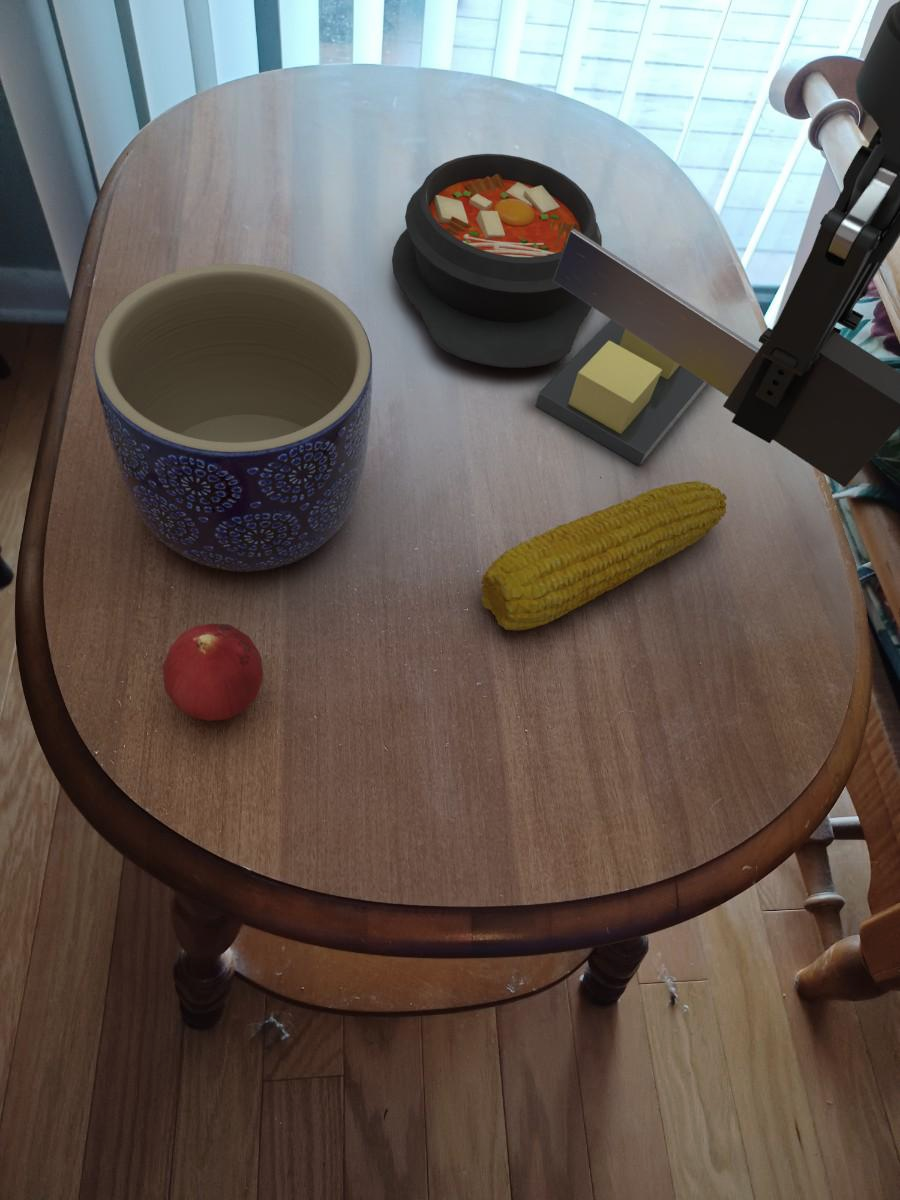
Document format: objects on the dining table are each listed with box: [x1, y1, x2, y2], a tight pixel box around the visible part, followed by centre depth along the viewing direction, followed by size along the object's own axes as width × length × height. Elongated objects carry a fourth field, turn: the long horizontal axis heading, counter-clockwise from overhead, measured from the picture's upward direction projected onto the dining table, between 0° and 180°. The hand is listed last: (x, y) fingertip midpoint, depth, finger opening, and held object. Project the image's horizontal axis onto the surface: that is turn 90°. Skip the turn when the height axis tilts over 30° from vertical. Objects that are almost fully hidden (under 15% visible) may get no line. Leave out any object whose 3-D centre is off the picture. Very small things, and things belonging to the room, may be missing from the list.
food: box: [480, 480, 728, 631], centre depth 68 cm, size 21×6×6 cm, turn 124°
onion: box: [162, 623, 264, 722], centre depth 57 cm, size 6×6×8 cm
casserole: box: [391, 153, 603, 369], centre depth 83 cm, size 25×19×8 cm
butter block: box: [568, 341, 662, 434], centre depth 76 cm, size 5×5×4 cm
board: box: [535, 319, 708, 467], centre depth 80 cm, size 10×14×2 cm
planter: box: [92, 263, 373, 573], centre depth 63 cm, size 17×17×15 cm
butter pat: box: [619, 329, 680, 380], centre depth 80 cm, size 5×3×4 cm, turn 55°
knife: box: [553, 229, 900, 488], centre depth 58 cm, size 23×2×7 cm, turn 54°
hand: (763, 415), depth 60 cm, fingers closed on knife, 2 cm apart
